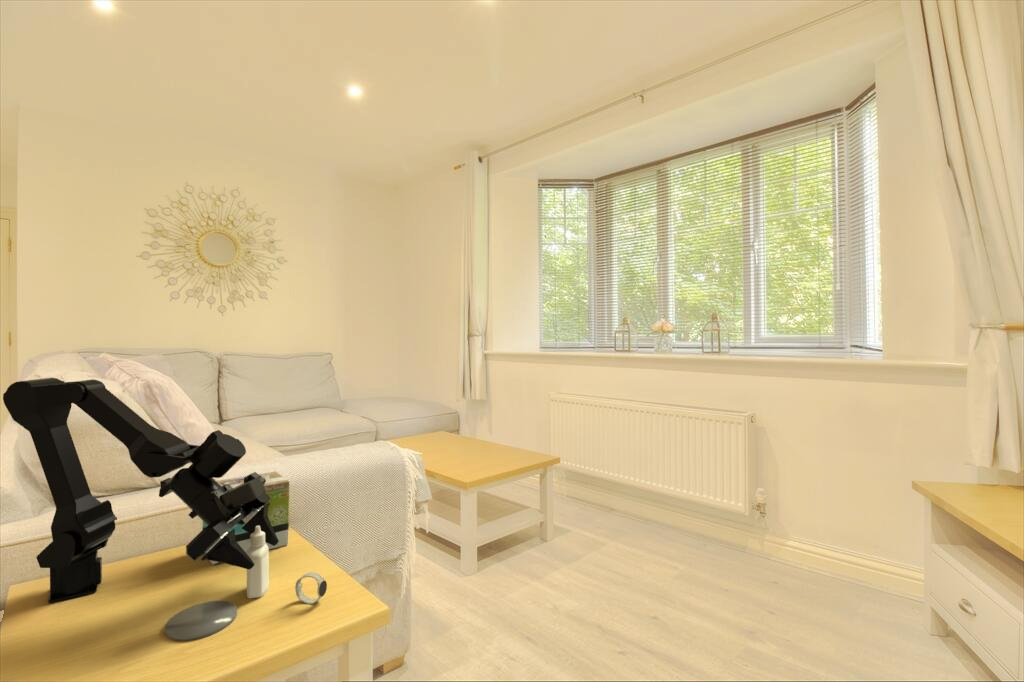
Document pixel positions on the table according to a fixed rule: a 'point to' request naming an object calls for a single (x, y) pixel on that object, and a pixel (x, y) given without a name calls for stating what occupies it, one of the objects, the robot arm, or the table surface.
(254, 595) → the eye dropper bottle
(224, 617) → the charcoal coaster
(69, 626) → the table surface
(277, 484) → the tea box
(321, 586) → the wristwatch
